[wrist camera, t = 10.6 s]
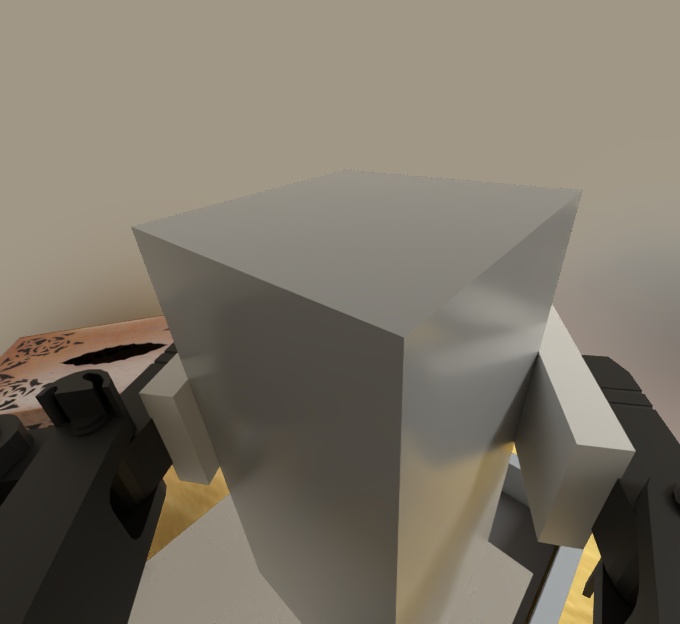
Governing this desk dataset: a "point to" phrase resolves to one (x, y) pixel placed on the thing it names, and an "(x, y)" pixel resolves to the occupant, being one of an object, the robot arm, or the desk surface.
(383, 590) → the gray pillar
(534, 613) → the trapdoor frame
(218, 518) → the trapdoor
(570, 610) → the desk surface
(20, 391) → the tissue box cover
